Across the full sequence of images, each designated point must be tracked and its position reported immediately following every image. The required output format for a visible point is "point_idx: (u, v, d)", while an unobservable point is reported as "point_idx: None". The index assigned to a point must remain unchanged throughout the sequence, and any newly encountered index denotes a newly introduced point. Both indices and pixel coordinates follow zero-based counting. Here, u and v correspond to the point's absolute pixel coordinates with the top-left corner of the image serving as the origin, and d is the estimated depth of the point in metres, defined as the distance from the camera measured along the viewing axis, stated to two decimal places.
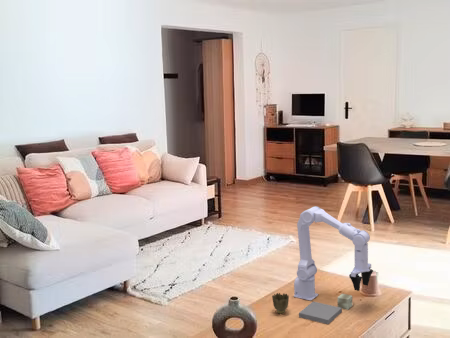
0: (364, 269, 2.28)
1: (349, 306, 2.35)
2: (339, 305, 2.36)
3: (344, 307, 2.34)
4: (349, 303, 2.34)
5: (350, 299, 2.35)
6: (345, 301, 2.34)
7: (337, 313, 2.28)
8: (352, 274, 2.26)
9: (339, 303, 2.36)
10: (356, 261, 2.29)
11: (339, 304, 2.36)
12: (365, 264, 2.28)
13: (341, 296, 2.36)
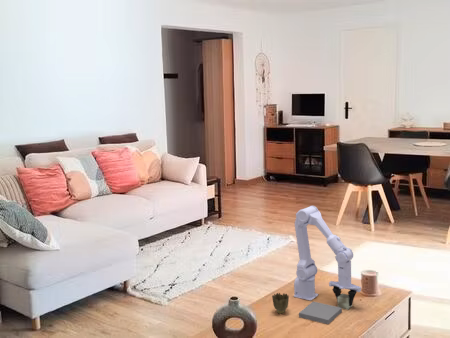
0: (339, 285, 2.34)
1: (349, 306, 2.35)
2: (339, 305, 2.36)
3: (344, 307, 2.34)
4: None
5: None
6: (345, 301, 2.34)
7: (337, 313, 2.28)
8: None
9: (339, 303, 2.36)
10: None
11: (339, 304, 2.36)
12: (340, 280, 2.33)
13: (341, 296, 2.36)
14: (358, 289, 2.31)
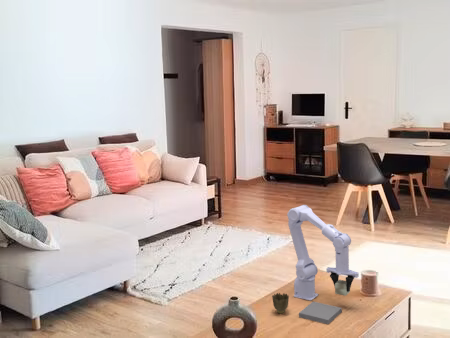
0: (336, 270, 2.32)
1: (347, 292, 2.33)
2: (337, 291, 2.34)
3: (342, 293, 2.33)
4: (346, 289, 2.32)
5: None
6: (342, 287, 2.32)
7: (337, 313, 2.28)
8: None
9: (337, 289, 2.34)
10: None
11: (337, 290, 2.34)
12: (337, 266, 2.32)
13: (339, 282, 2.35)
14: (356, 275, 2.29)
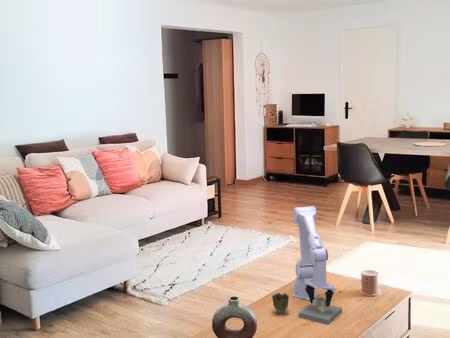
0: (314, 284, 2.27)
1: (324, 309, 2.28)
2: (314, 308, 2.29)
3: (319, 310, 2.27)
4: (324, 307, 2.27)
5: (325, 302, 2.28)
6: (320, 304, 2.27)
7: (337, 313, 2.28)
8: None
9: (314, 306, 2.28)
10: None
11: (314, 307, 2.28)
12: (315, 280, 2.26)
13: (316, 299, 2.29)
14: (333, 289, 2.23)
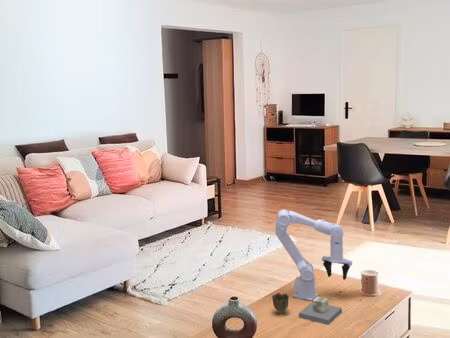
0: (331, 259, 2.44)
1: (324, 309, 2.28)
2: (314, 308, 2.29)
3: (319, 310, 2.27)
4: (324, 307, 2.27)
5: (325, 302, 2.28)
6: (320, 304, 2.27)
7: (337, 313, 2.28)
8: None
9: (314, 306, 2.28)
10: None
11: (314, 307, 2.28)
12: (332, 255, 2.44)
13: (316, 299, 2.29)
14: (349, 263, 2.41)
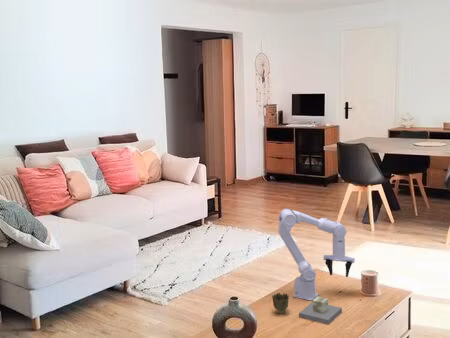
0: (334, 257, 2.47)
1: (324, 309, 2.28)
2: (314, 308, 2.29)
3: (319, 310, 2.27)
4: (324, 307, 2.27)
5: (325, 302, 2.28)
6: (320, 304, 2.27)
7: (337, 313, 2.28)
8: None
9: (314, 306, 2.28)
10: None
11: (314, 307, 2.28)
12: (335, 253, 2.46)
13: (316, 299, 2.29)
14: (352, 260, 2.44)
